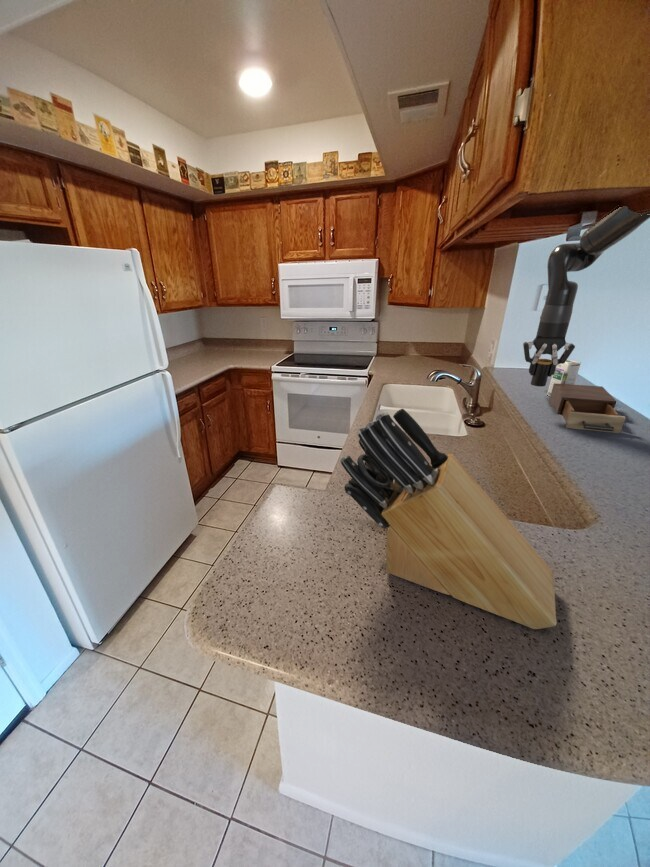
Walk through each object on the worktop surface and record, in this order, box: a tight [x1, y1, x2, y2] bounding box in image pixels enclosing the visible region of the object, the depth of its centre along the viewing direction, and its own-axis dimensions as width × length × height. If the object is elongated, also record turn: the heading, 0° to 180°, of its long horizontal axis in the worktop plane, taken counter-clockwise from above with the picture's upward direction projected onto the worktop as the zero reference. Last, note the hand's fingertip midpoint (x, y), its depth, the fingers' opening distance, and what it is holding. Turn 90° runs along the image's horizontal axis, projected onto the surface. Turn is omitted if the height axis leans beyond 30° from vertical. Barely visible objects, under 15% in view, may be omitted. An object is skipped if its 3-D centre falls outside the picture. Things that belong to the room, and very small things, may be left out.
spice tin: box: [530, 358, 552, 387], centre depth 105 cm, size 4×4×8 cm
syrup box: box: [546, 358, 582, 397], centre depth 127 cm, size 6×6×14 cm
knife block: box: [339, 408, 557, 630], centre depth 54 cm, size 11×35×31 cm, turn 60°
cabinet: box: [548, 383, 617, 415], centre depth 115 cm, size 15×15×8 cm
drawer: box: [560, 400, 627, 434], centre depth 104 cm, size 18×14×6 cm
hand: (540, 375), depth 106 cm, fingers closed on spice tin, 4 cm apart
